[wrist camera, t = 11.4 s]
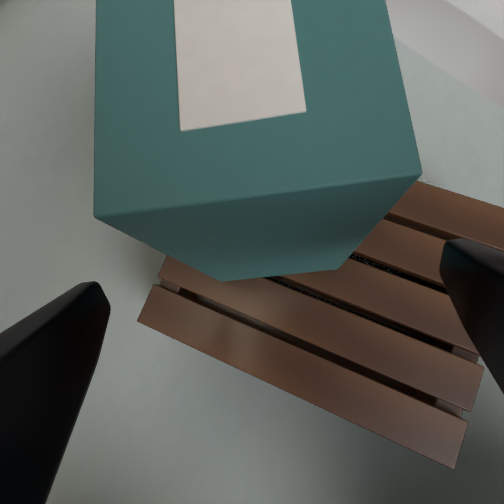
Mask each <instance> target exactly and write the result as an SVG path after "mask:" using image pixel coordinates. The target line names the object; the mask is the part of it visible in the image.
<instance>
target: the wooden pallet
mask: <svg viewBox="0 0 504 504" xmlns="http://www.w3.org/2000/svg"><path fill="white" fill-rule="evenodd" d="M461 238H465V239H468V240H471V241H474V242H477V243H479V244H482V245H485V246H488V247H490V248H493V249H496V250H499V251H501V252H504V208H502V207H499V206H496V205H492V204H489V203H486V202H483V201H480V200H476V199H473V198H470V197H467V196H464V195H460V194H457V193H454V192H451V191H448V190H445V189H441V188H438V187H435V186H432V185H429V184H425V183H422V182H419V181H416V182H415V183H414V184H413V185H412V186H411V187H410V188H409V189H408V191H407V192H406V193H405V194H404V195H403V196H402V197H401V198H400V200H399V201H398V202H397V203H396V204H395V205H394V206H393V207H392V209H391V210H390V211H389V212H388V213H387V214H386V215H385V216H384V218H383V219H382V220H381V221H380V222H379V223H378V224H377V226H376V227H375V228H374V229H373V230H372V231H371V232H370V233H369V235H368V236H367V237H366V238H365V239H364V240H363V241H362V242H361V244H360V245H359V246H358V247H357V248H356V249H355V250H354V251H353V253H352V254H355V255H357V256H360V257H363V258H365V259H368V260H371V261H373V262H376V263H379V264H382V265H384V266H387V267H390V268H392V269H395V270H398V271H401V272H403V273H406V274H409V275H411V276H414V277H417V278H420V279H422V280H425V281H428V282H430V283H433V284H436V285H439V286H441V288H440V291H436V290H434V289H431V288H428V287H426V286H423V285H420V284H417V283H415V282H412V281H409V280H407V279H404V278H401V277H399V276H396V275H393V274H391V273H388V272H385V271H383V270H380V269H377V268H374V267H372V266H369V265H366V264H364V263H361V262H358V261H356V260H353V259H350V258H347V259H346V260H345V262H344V263H343V264H342V265H341V266H340V267H339V268H338V269H336V270H326V271H317V272H308V273H298V274H289V275H279V276H270V277H269V278H271V279H274V280H276V281H279V282H281V283H284V284H286V285H289V286H291V287H294V288H296V289H299V290H301V291H304V292H306V293H308V294H311V295H313V296H316V297H318V298H321V299H323V300H326V301H328V302H331V303H333V304H336V305H338V306H341V307H343V308H346V309H348V310H351V311H353V312H356V313H358V314H361V315H363V316H366V317H368V318H370V319H373V320H375V321H378V322H380V323H383V324H385V325H388V326H390V327H393V328H395V329H398V330H400V331H403V332H405V333H408V334H410V335H413V336H415V337H418V338H420V339H423V342H422V341H420V340H417V339H415V338H412V337H410V336H407V335H405V334H402V333H400V332H397V331H395V330H393V329H390V328H388V327H385V326H383V325H380V324H378V323H375V322H373V321H370V320H368V319H365V318H363V317H360V316H358V315H355V314H353V313H351V312H348V311H346V310H343V309H341V308H338V307H336V306H333V305H331V304H328V303H326V302H323V301H321V300H318V299H316V298H313V297H311V296H308V295H306V294H304V293H301V292H299V291H296V290H294V289H291V288H289V287H286V286H284V285H281V284H279V283H276V282H274V281H271V280H269V279H266V278H264V277H261V278H251V279H242V280H233V281H223V282H220V281H218V280H216V279H214V278H212V277H210V276H208V275H206V274H204V273H203V272H201V271H199V270H197V269H195V268H193V267H191V266H189V265H187V264H185V263H183V262H181V261H179V260H177V259H175V258H173V257H171V256H169V255H167V257H166V259H165V261H164V264H163V266H162V268H161V270H160V272H159V274H158V277H159V278H161V279H162V281H161V283H160V285H156V284H154V285H153V287H152V289H151V291H150V294H149V296H148V298H147V300H146V302H145V304H144V307H143V309H142V311H141V313H140V315H139V317H138V320H137V321H138V322H139V323H142V324H144V325H146V326H148V327H150V328H152V329H154V330H157V331H159V332H161V333H163V334H165V335H167V336H169V337H171V338H174V339H176V340H178V341H180V342H182V343H184V344H186V345H188V346H191V347H193V348H195V349H197V350H199V351H201V352H203V353H205V354H208V355H210V356H212V357H214V358H216V359H218V360H220V361H223V362H225V363H227V364H229V365H231V366H233V367H235V368H237V369H240V370H242V371H244V372H246V373H248V374H250V375H252V376H254V377H257V378H259V379H261V380H263V381H265V382H267V383H269V384H272V385H274V386H276V387H278V388H280V389H282V390H284V391H286V392H289V393H291V394H293V395H295V396H297V397H299V398H301V399H303V400H306V401H308V402H310V403H312V404H314V405H316V406H318V407H320V408H323V409H325V410H327V411H329V412H331V413H333V414H335V415H338V416H340V417H342V418H344V419H346V420H348V421H350V422H352V423H355V424H357V425H359V426H361V427H363V428H365V429H367V430H369V431H372V432H374V433H376V434H378V435H380V436H382V437H384V438H387V439H389V440H391V441H393V442H395V443H397V444H399V445H401V446H404V447H406V448H408V449H410V450H412V451H414V452H416V453H418V454H421V455H423V456H425V457H427V458H429V459H431V460H433V461H436V462H438V463H440V464H442V465H444V466H446V467H448V468H450V469H453V470H454V468H455V465H456V462H457V458H458V455H459V452H460V448H461V445H462V442H463V438H464V435H465V432H466V428H467V425H468V422H467V421H466V420H464V419H462V418H461V414H462V410H466V411H468V412H471V411H472V408H473V404H474V401H475V398H476V394H477V391H478V388H479V384H480V381H481V378H482V374H483V371H484V367H483V366H482V365H479V364H477V361H478V358H479V356H480V354H479V352H478V351H477V349H476V348H475V346H474V344H473V343H472V341H471V339H470V338H469V336H468V334H467V332H466V331H465V329H464V327H463V325H462V323H461V321H460V319H459V317H458V314H457V312H456V310H455V308H454V306H453V303H452V301H451V299H450V297H449V295H448V292H447V290H446V288H445V286H444V284H443V281H442V279H441V277H440V273H439V266H440V261H441V256H442V251H443V246H444V243H445V242H446V241H448V240H453V239H461Z"/></svg>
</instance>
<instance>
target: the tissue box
mask: <svg viewBox="0 0 504 504" xmlns="http://www.w3.org/2000/svg"><path fill="white" fill-rule="evenodd" d="M421 175H422V168H421V163H420V159H419V154H418V149H417V145H416V140H415V136H414V131H413V126H412V122H411V117H410V112H409V108H408V103H407V99H406V94H405V89H404V85H403V80H402V75H401V71H400V66H399V62H398V57H397V52H396V48H395V43H394V39H393V34H392V29H391V25H390V20H389V15H388V11H387V6H386V2H385V0H96V45H95V129H94V212H93V215H94V217H95V218H96V219H98V220H100V221H102V222H104V223H106V224H108V225H110V226H112V227H114V228H116V229H118V230H120V231H122V232H124V233H126V234H128V235H129V236H131V237H133V238H135V239H137V240H139V241H141V242H143V243H145V244H147V245H149V246H151V247H153V248H155V249H157V250H159V251H161V252H163V253H165V254H167V255H169V256H171V257H173V258H175V259H177V260H179V261H181V262H183V263H185V264H187V265H189V266H191V267H193V268H195V269H197V270H199V271H201V272H203V273H204V274H206V275H208V276H210V277H212V278H214V279H216V280H218V281H220V282H223V281H233V280H242V279H251V278H261V277H270V276H279V275H289V274H298V273H308V272H317V271H326V270H336V269H338V268H339V267H340V266H341V265H342V264H343V263H344V262H345V260H346V259H347V258H348V257H349V256H350V255H351V254H352V253H353V251H354V250H355V249H356V248H357V247H358V246H359V245H360V244H361V242H362V241H363V240H364V239H365V238H366V237H367V236H368V235H369V233H370V232H371V231H372V230H373V229H374V228H375V227H376V226H377V224H378V223H379V222H380V221H381V220H382V219H383V218H384V216H385V215H386V214H387V213H388V212H389V211H390V210H391V209H392V207H393V206H394V205H395V204H396V203H397V202H398V201H399V200H400V198H401V197H402V196H403V195H404V194H405V193H406V192H407V191H408V189H409V188H410V187H411V186H412V185H413V184H414V183H415V182H416V180H417V179H418V178H419V177H420V176H421Z"/></svg>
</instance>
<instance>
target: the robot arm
mask: <svg viewBox="0 0 504 504" xmlns="http://www.w3.org/2000/svg"><path fill="white" fill-rule="evenodd" d="M439 273H440V277H441V279H442V281H443V284H444V286H445V288H446V290H447V292H448V295H449V297H450V299H451V301H452V303H453V306H454V308H455V310H456V312H457V314H458V317H459V319H460V321H461V323H462V325H463V327H464V329H465V331H466V332H467V334H468V336H469V338H470V339H471V341H472V343H473V344H474V346H475V348H476V349H477V351H478V352H479V354H480V356H481V357H482V359H483V361H484V362H485V364H486V366H487V367H488V369H489V371H490V372H491V374H492V376H493V377H494V379H495V380H496V382H497V384H498V385H499V387H500V389H501V390H502V392H503V394H504V252H501V251H499V250H496V249H493V248H490V247H488V246H485V245H482V244H479V243H477V242H474V241H471V240H468V239H465V238H461V239H453V240H448V241H446V242H445V243H444V246H443V251H442V256H441V261H440V266H439ZM110 310H111V308H110V304H109V301H108V299H107V297H106V296H105V294H104V292H103V290H102V288H101V286H100V284H99V283H98V282H95V281H92V282H83V283H80V284H78V285H77V286H75V287H73V288H72V289H70V290H69V291H67V292H65V293H64V294H62V295H61V296H59V297H57V298H56V299H54V300H53V301H51V302H49V303H48V304H46V305H45V306H43V307H41V308H40V309H38V310H37V311H35V312H33V313H32V314H30V315H29V316H27V317H26V318H24V319H22V320H21V321H19V322H18V323H16V324H14V325H13V326H11V327H10V328H8V329H6V330H5V331H3V332H2V333H0V504H46V501H47V498H48V496H49V493H50V490H51V487H52V485H53V482H54V479H55V477H56V474H57V471H58V469H59V466H60V463H61V460H62V458H63V455H64V452H65V450H66V447H67V444H68V441H69V439H70V436H71V433H72V431H73V428H74V425H75V422H76V420H77V417H78V414H79V412H80V409H81V406H82V403H83V401H84V398H85V395H86V393H87V390H88V387H89V385H90V382H91V379H92V376H93V374H94V371H95V368H96V365H97V362H98V359H99V355H100V351H101V348H102V344H103V340H104V336H105V332H106V328H107V324H108V320H109V316H110Z"/></svg>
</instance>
